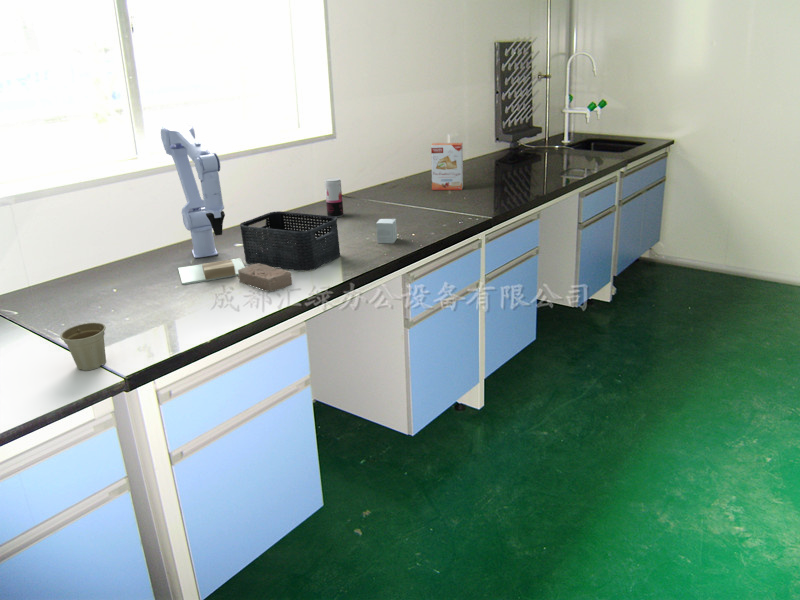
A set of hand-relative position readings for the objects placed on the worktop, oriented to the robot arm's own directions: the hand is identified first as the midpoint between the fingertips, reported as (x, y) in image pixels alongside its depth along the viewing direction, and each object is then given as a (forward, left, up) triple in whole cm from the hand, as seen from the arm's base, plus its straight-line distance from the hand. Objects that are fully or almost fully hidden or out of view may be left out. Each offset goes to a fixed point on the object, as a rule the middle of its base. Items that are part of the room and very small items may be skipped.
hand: (218, 234), depth 211 cm
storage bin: (+5, +22, -11) cm, 25 cm away
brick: (+24, +9, -11) cm, 28 cm away
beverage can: (-42, +51, -11) cm, 67 cm away
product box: (+2, +57, -11) cm, 58 cm away
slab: (+7, -3, -8) cm, 11 cm away
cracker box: (-61, +111, -11) cm, 127 cm away
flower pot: (+59, -38, -11) cm, 71 cm away
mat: (+5, -4, -10) cm, 12 cm away
